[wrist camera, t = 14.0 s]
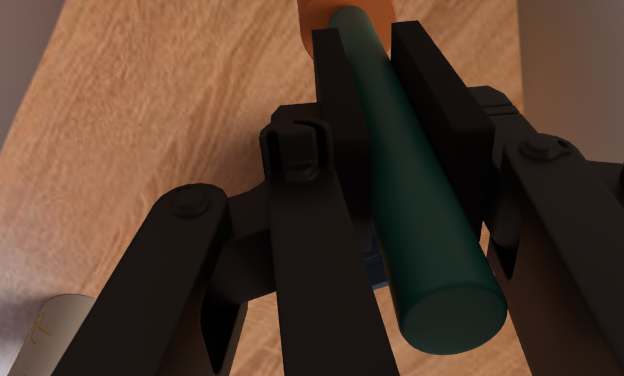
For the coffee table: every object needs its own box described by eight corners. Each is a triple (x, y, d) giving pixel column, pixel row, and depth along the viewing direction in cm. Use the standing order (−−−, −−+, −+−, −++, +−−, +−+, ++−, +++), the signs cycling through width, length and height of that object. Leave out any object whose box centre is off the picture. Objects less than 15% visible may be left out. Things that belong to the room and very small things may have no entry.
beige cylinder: (47, 285, 54) (-5, 385, 44) (125, 307, 57) (92, 406, 47) (33, 334, 58) (-17, 436, 48) (107, 352, 61) (72, 453, 51)
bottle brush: (376, -55, 22) (609, 212, 7) (377, 29, 24) (554, 386, 9) (293, -47, 22) (323, 237, 7) (300, 36, 24) (336, 406, 9)
